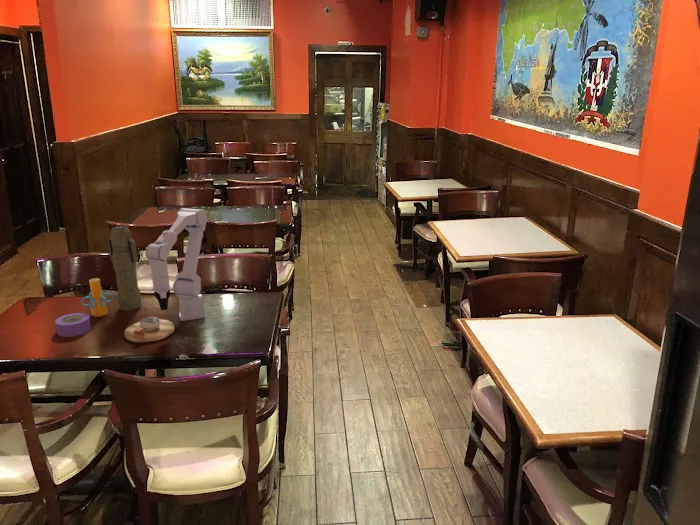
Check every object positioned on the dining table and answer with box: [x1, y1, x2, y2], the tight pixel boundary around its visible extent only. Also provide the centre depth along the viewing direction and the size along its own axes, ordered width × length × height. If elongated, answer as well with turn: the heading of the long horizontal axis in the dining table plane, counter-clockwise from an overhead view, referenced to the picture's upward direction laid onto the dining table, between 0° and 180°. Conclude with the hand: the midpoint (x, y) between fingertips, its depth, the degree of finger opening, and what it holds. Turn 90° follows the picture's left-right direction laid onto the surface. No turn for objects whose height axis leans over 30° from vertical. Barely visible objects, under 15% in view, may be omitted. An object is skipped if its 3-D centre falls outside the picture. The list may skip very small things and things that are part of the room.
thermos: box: [107, 225, 142, 312], centre depth 234 cm, size 9×12×35 cm
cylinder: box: [80, 277, 115, 318], centre depth 230 cm, size 12×10×15 cm
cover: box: [139, 316, 160, 333], centre depth 214 cm, size 7×7×4 cm
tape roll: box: [54, 312, 92, 338], centre depth 217 cm, size 12×12×5 cm
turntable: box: [124, 318, 175, 343], centre depth 214 cm, size 18×18×4 cm
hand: (164, 309), depth 212 cm, fingers closed
